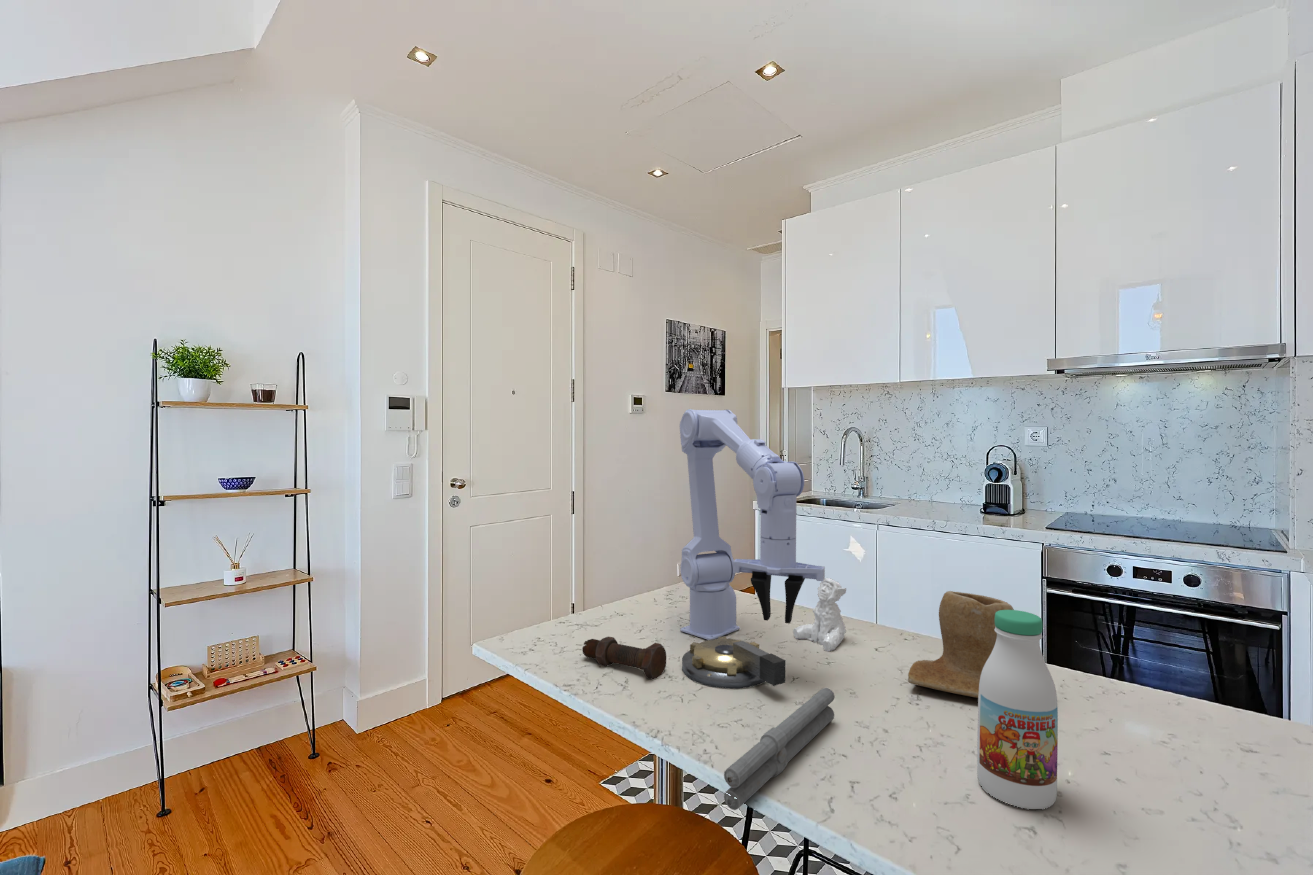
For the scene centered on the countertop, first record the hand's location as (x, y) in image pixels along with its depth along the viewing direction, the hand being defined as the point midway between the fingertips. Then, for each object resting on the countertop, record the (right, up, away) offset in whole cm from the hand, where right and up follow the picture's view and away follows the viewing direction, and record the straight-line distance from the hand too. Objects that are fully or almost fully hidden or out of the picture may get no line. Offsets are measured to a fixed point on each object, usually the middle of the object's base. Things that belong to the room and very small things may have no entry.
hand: (777, 619), depth 98 cm
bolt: (-26, -10, +5) cm, 28 cm away
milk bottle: (+21, -10, -30) cm, 38 cm away
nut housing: (-8, -9, +3) cm, 13 cm away
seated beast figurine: (+13, -9, +17) cm, 23 cm away
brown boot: (+28, -10, -4) cm, 30 cm away
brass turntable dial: (-6, -8, 0) cm, 10 cm away
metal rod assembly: (-4, -10, -24) cm, 26 cm away
